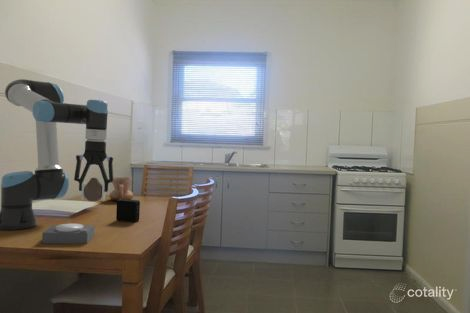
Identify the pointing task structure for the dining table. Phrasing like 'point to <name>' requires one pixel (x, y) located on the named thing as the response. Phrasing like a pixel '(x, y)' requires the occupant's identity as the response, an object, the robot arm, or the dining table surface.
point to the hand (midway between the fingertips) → (93, 199)
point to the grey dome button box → (68, 234)
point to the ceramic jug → (121, 188)
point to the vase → (93, 190)
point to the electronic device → (128, 210)
